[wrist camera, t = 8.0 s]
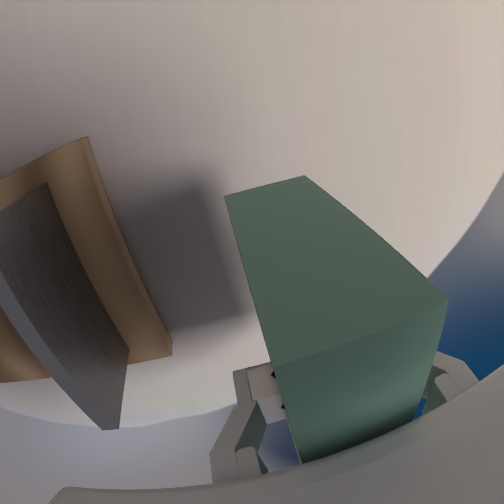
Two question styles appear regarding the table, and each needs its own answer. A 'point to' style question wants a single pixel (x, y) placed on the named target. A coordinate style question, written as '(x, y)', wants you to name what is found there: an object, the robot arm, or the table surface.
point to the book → (335, 315)
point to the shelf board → (85, 258)
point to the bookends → (60, 307)
